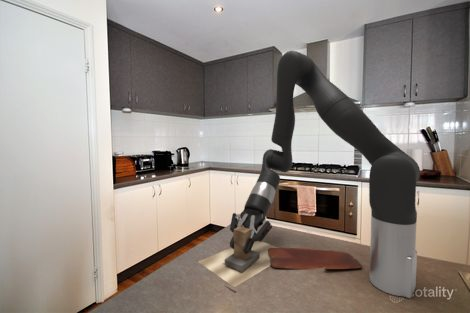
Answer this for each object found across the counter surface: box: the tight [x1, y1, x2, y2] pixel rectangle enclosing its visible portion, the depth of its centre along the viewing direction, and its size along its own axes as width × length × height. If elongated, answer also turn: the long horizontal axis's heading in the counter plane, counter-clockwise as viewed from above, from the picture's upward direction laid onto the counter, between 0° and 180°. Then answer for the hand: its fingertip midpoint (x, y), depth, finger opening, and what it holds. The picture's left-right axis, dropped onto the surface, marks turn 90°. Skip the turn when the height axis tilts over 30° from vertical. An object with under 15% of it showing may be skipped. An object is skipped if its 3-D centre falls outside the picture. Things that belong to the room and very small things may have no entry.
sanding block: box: [225, 226, 260, 272], centre depth 66 cm, size 6×9×10 cm, turn 142°
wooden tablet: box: [268, 247, 363, 270], centre depth 67 cm, size 27×10×2 cm, turn 92°
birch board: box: [198, 240, 278, 294], centre depth 69 cm, size 16×24×2 cm, turn 132°
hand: (238, 250), depth 64 cm, fingers closed on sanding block, 4 cm apart
